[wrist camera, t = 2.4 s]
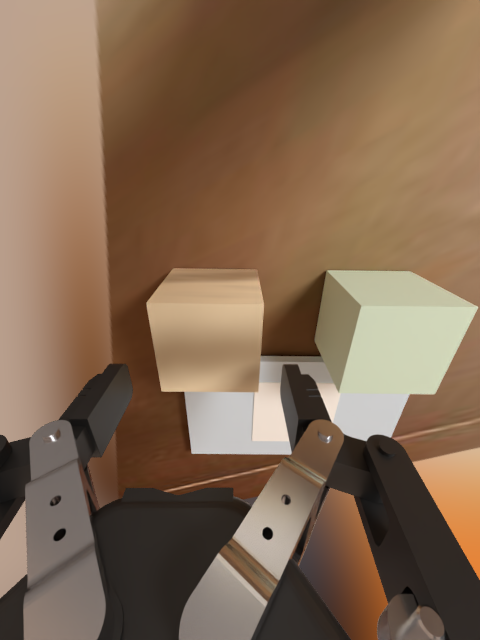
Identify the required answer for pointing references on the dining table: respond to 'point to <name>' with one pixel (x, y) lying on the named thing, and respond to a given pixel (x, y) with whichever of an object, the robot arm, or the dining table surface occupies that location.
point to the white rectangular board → (281, 412)
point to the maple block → (208, 330)
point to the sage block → (388, 331)
